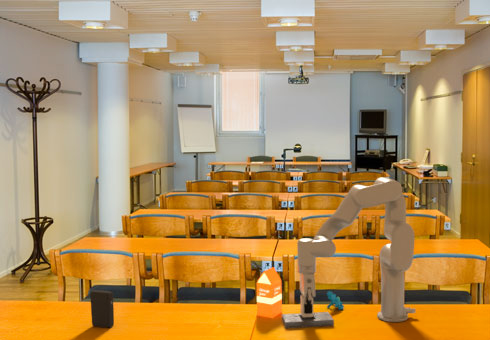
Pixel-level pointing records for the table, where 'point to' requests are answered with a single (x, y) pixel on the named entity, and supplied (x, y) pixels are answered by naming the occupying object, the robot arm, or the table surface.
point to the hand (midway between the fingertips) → (307, 310)
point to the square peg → (303, 307)
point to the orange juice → (269, 294)
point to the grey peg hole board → (307, 320)
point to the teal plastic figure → (334, 301)
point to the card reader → (102, 308)
